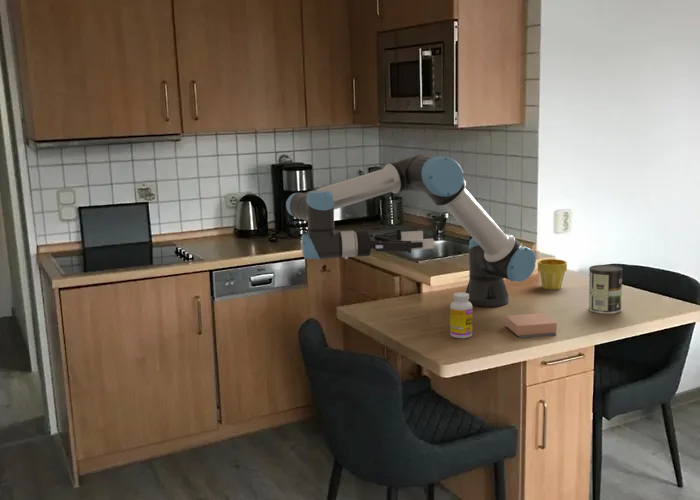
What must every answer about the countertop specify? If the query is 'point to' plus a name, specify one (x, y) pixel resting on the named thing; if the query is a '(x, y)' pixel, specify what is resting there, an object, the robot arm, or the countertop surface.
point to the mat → (537, 335)
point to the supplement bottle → (461, 316)
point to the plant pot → (552, 273)
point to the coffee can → (605, 289)
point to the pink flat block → (530, 324)
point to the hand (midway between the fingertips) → (428, 239)
